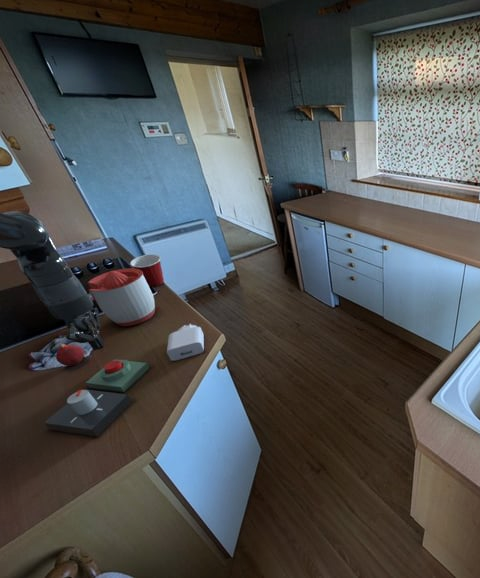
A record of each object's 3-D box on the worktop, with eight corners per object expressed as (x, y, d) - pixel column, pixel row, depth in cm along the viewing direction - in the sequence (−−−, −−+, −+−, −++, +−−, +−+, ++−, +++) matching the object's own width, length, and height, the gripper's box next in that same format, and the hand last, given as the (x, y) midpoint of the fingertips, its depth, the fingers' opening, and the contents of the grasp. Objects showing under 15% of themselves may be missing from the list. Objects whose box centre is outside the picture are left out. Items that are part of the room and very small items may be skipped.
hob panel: (50, 430, 72) (43, 422, 70) (90, 396, 81) (84, 388, 79) (97, 436, 71) (90, 429, 69) (132, 401, 79) (127, 394, 78)
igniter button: (103, 373, 83) (100, 368, 82) (114, 363, 86) (112, 359, 85) (114, 374, 83) (111, 370, 82) (125, 365, 86) (123, 360, 85)
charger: (204, 326, 107) (204, 352, 95) (174, 333, 103) (171, 361, 92) (199, 315, 104) (199, 341, 93) (169, 323, 100) (165, 350, 89)
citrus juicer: (103, 317, 110) (73, 271, 99) (157, 300, 120) (136, 256, 109) (105, 338, 100) (73, 289, 90) (164, 318, 110) (141, 272, 99)
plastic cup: (143, 292, 125) (131, 267, 119) (140, 282, 132) (127, 259, 125) (173, 283, 131) (162, 260, 125) (167, 275, 138) (157, 251, 132)
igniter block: (89, 387, 83) (81, 378, 81) (117, 364, 91) (111, 355, 88) (124, 392, 82) (117, 382, 80) (149, 368, 89) (144, 358, 87)
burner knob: (94, 411, 73) (84, 399, 71) (74, 417, 72) (62, 404, 69) (100, 399, 76) (90, 386, 74) (80, 404, 75) (70, 392, 72)
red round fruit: (93, 360, 92) (79, 341, 87) (70, 373, 87) (54, 354, 83) (83, 354, 94) (69, 336, 90) (60, 367, 89) (44, 347, 85)
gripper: (72, 306, 67) (108, 360, 76) (93, 279, 77) (123, 329, 87) (29, 314, 65) (72, 368, 74) (56, 284, 75) (91, 336, 84)
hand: (99, 347), depth 80 cm, fingers closed
